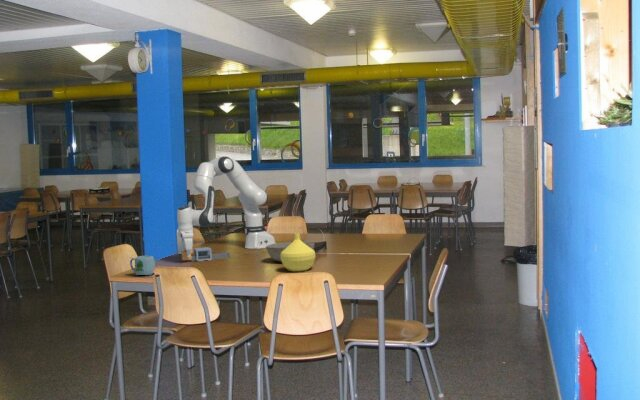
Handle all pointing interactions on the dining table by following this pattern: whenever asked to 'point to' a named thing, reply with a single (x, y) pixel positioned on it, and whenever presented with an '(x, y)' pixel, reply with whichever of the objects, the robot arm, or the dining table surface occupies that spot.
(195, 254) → the pale blue storage bin
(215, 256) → the rod
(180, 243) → the milk carton
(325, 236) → the dining table surface
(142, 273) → the mug
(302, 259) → the vase
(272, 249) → the bowl
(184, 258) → the block
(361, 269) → the dining table surface
